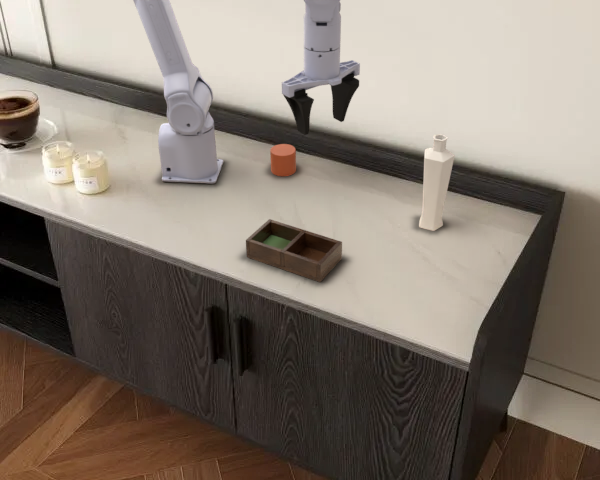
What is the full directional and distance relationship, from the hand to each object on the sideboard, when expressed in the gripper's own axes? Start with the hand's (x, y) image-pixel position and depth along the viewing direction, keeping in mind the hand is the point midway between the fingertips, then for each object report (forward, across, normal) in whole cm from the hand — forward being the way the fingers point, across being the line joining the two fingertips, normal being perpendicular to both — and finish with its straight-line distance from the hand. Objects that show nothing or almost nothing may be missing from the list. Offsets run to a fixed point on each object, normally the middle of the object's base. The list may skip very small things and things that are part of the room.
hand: (321, 125), depth 127 cm
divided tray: (+9, -19, -17) cm, 27 cm away
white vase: (+9, +4, -23) cm, 25 cm away
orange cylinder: (+9, -4, +5) cm, 11 cm away
